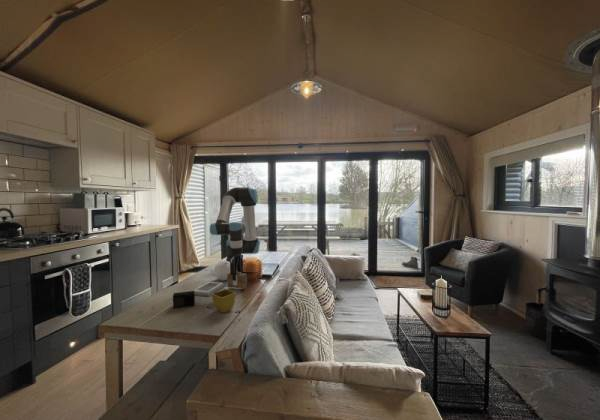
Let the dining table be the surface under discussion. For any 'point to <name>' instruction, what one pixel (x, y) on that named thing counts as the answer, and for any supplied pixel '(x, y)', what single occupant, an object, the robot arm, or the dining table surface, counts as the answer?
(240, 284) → the walnut block
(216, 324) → the dining table surface
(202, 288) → the grey flat frame
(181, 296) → the digital camera
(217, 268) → the geodesic sphere
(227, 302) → the flower pot
